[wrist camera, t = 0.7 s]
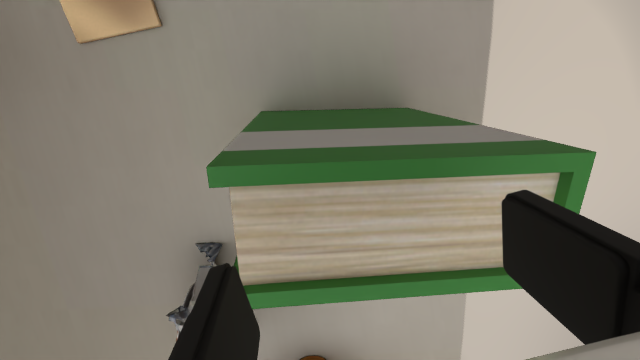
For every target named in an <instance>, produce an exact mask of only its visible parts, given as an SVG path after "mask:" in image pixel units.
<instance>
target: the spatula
mask: <svg viewBox="0 0 640 360" xmlns="http://www.w3.org/2000/svg"><path fill="white" fill-rule="evenodd" d="M60 3H61V5H62V7H63V10H64V12H65V14H66V17H67V19H68V21H69V23H70V26H71V28H72V30H73V33H74V35H75V37H76V40H77V42H78V43H81V44H82V43H87V42H92V41H96V40H101V39H105V38H110V37H115V36H119V35H124V34H128V33H133V32H138V31H142V30H147V29H151V28H156V27H161V26H162V25H161V22H160V19H159V16H158V13H157V10H156V7H155V4H154V1H153V0H60Z"/></svg>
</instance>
